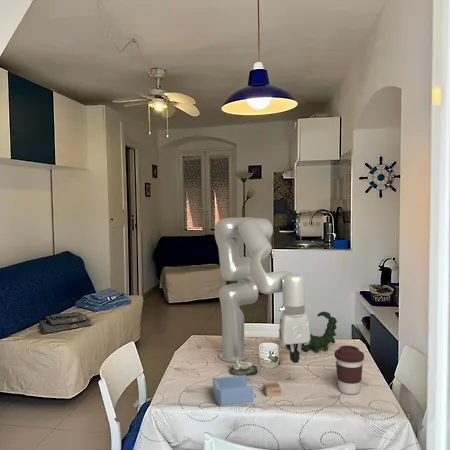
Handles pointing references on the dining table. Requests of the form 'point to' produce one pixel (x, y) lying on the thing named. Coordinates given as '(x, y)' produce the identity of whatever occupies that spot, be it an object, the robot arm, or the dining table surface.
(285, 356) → the dining table surface
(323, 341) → the toy figurine
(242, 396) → the box
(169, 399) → the dining table surface
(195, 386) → the dining table surface
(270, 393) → the cardboard shipping box
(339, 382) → the coffee cup
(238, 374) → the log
